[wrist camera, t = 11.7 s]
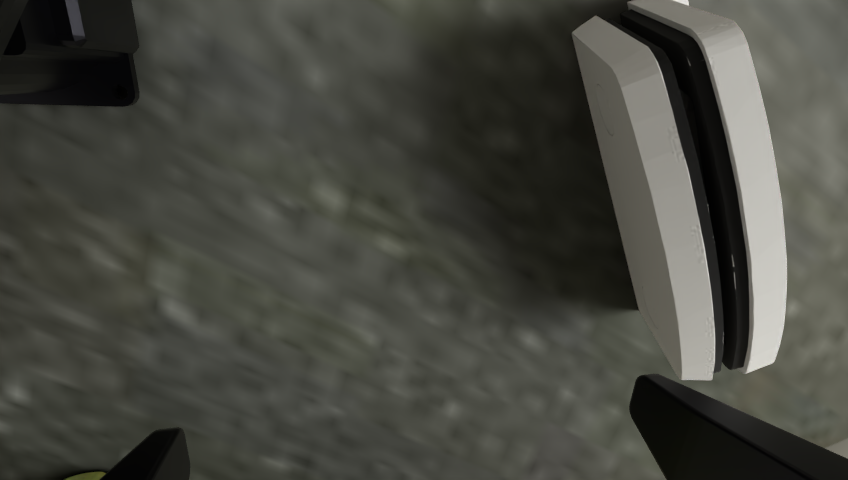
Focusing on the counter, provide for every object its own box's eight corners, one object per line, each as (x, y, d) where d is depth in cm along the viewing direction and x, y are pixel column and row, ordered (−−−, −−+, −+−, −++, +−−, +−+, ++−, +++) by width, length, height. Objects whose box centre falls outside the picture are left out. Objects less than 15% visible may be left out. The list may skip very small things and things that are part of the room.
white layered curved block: (713, 276, 26) (830, 413, 17) (631, 297, 28) (702, 433, 19) (669, -21, 19) (825, -40, 11) (563, 25, 21) (625, 40, 12)
